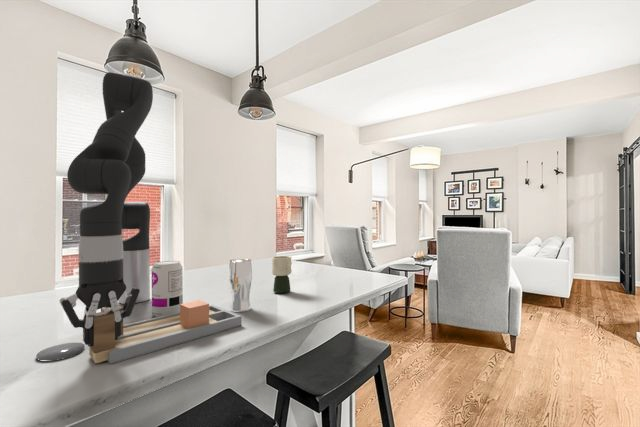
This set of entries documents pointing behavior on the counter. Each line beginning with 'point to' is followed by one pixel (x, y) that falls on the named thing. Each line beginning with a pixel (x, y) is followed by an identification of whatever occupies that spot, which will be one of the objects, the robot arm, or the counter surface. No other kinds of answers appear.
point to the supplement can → (166, 288)
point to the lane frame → (173, 334)
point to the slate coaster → (60, 351)
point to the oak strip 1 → (147, 325)
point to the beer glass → (240, 284)
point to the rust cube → (194, 314)
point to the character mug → (281, 273)
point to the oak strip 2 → (106, 339)
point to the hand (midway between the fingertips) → (102, 341)
